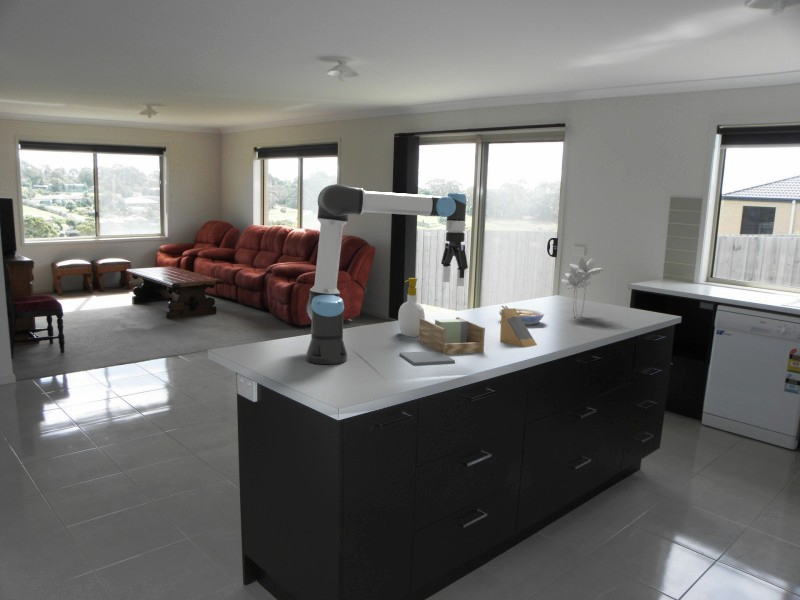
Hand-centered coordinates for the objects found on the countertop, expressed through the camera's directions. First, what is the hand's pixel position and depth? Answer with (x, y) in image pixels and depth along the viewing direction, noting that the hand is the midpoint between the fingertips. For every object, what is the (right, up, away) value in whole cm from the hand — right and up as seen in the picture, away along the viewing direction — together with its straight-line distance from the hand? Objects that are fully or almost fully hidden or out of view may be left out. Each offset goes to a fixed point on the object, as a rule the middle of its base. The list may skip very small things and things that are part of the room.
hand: (453, 284), depth 244 cm
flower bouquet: (+73, -18, +75) cm, 106 cm away
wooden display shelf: (-1, -26, +4) cm, 26 cm away
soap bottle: (-17, -23, +22) cm, 36 cm away
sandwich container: (+29, -26, +11) cm, 41 cm away
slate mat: (-12, -29, -19) cm, 36 cm away
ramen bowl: (+39, -20, +57) cm, 72 cm away
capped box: (-1, -26, +4) cm, 26 cm away
